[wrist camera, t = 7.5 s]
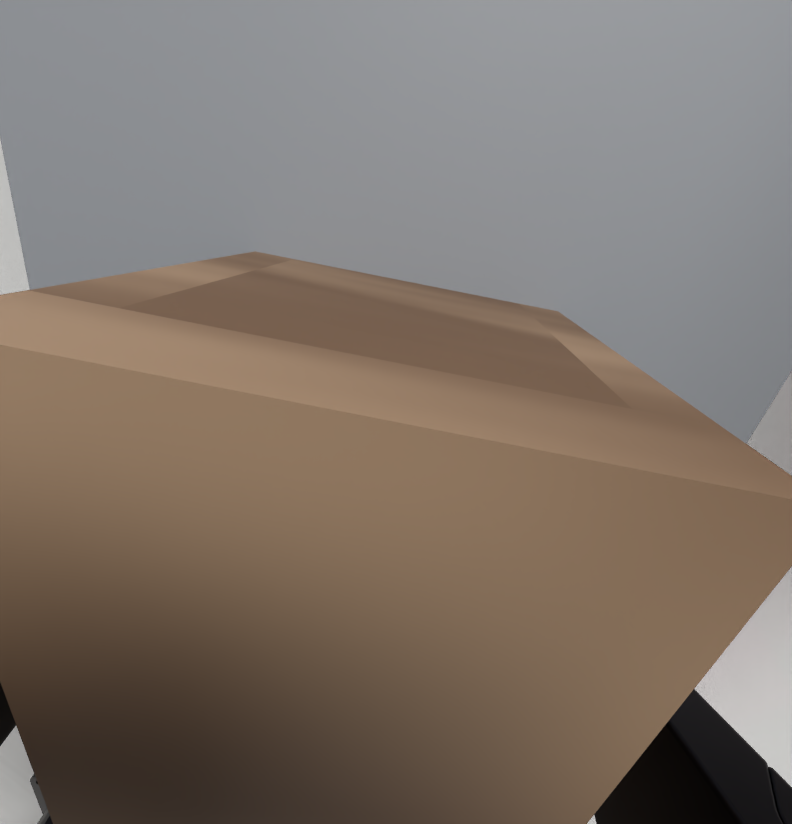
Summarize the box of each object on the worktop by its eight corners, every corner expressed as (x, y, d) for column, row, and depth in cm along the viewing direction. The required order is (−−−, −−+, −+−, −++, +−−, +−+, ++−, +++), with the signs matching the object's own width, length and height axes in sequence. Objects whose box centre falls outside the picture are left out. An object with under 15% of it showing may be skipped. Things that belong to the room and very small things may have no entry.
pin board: (518, 743, 15) (555, 965, 11) (142, 672, 15) (18, 865, 11) (889, 67, 7) (1837, -250, 2) (38, -105, 7) (-810, -809, 2)
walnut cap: (428, 686, 12) (426, 1023, 7) (242, 650, 12) (105, 964, 7) (558, 311, 7) (839, 508, 2) (255, 251, 7) (-135, 317, 2)
